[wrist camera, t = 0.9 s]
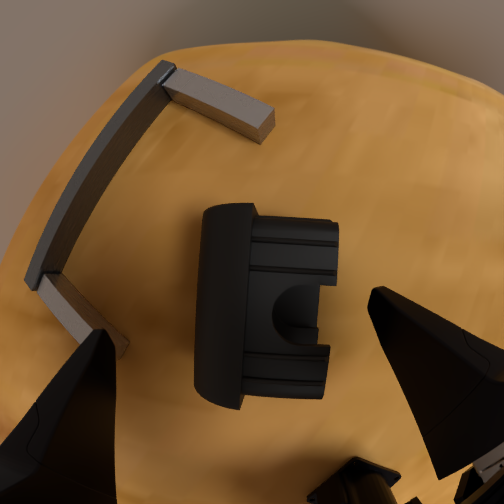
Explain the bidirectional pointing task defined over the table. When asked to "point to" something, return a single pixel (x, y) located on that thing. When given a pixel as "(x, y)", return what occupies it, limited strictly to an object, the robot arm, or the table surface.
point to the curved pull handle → (106, 165)
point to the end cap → (261, 305)
